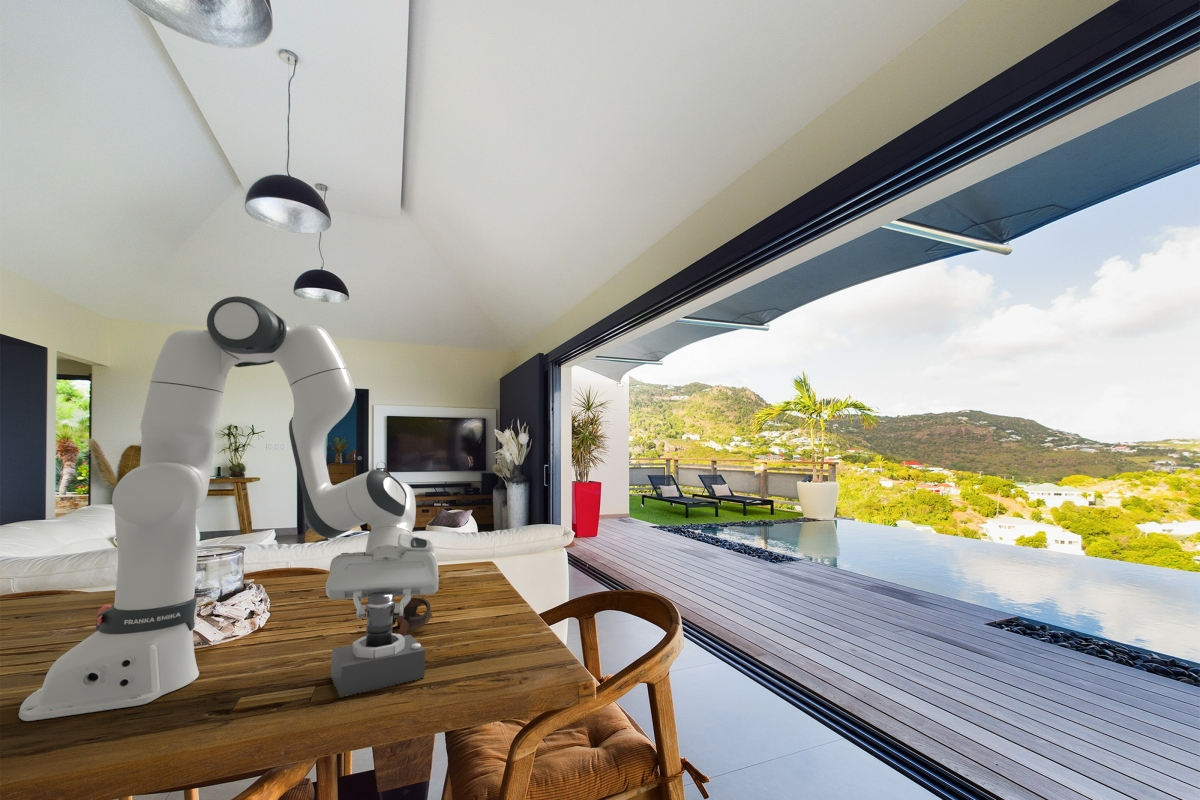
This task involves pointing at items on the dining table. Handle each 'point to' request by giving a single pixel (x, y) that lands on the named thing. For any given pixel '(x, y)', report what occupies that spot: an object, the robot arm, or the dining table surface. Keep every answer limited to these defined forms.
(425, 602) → the pottery mug
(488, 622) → the dining table surface
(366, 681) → the camera body
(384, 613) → the lens
